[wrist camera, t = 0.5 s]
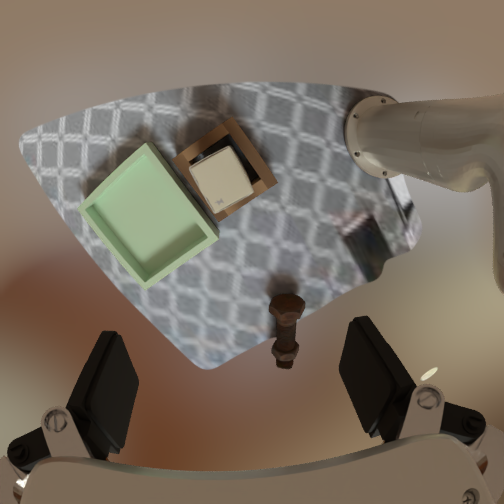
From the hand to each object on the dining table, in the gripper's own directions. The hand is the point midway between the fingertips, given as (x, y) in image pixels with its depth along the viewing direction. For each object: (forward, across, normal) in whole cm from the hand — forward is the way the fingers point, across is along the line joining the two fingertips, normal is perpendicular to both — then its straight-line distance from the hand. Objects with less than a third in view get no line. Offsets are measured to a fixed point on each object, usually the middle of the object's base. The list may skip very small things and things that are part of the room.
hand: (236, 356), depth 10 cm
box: (+30, 0, -4) cm, 30 cm away
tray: (+30, +12, +2) cm, 32 cm away
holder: (+29, 0, -4) cm, 30 cm away
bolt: (+30, -8, +23) cm, 39 cm away
